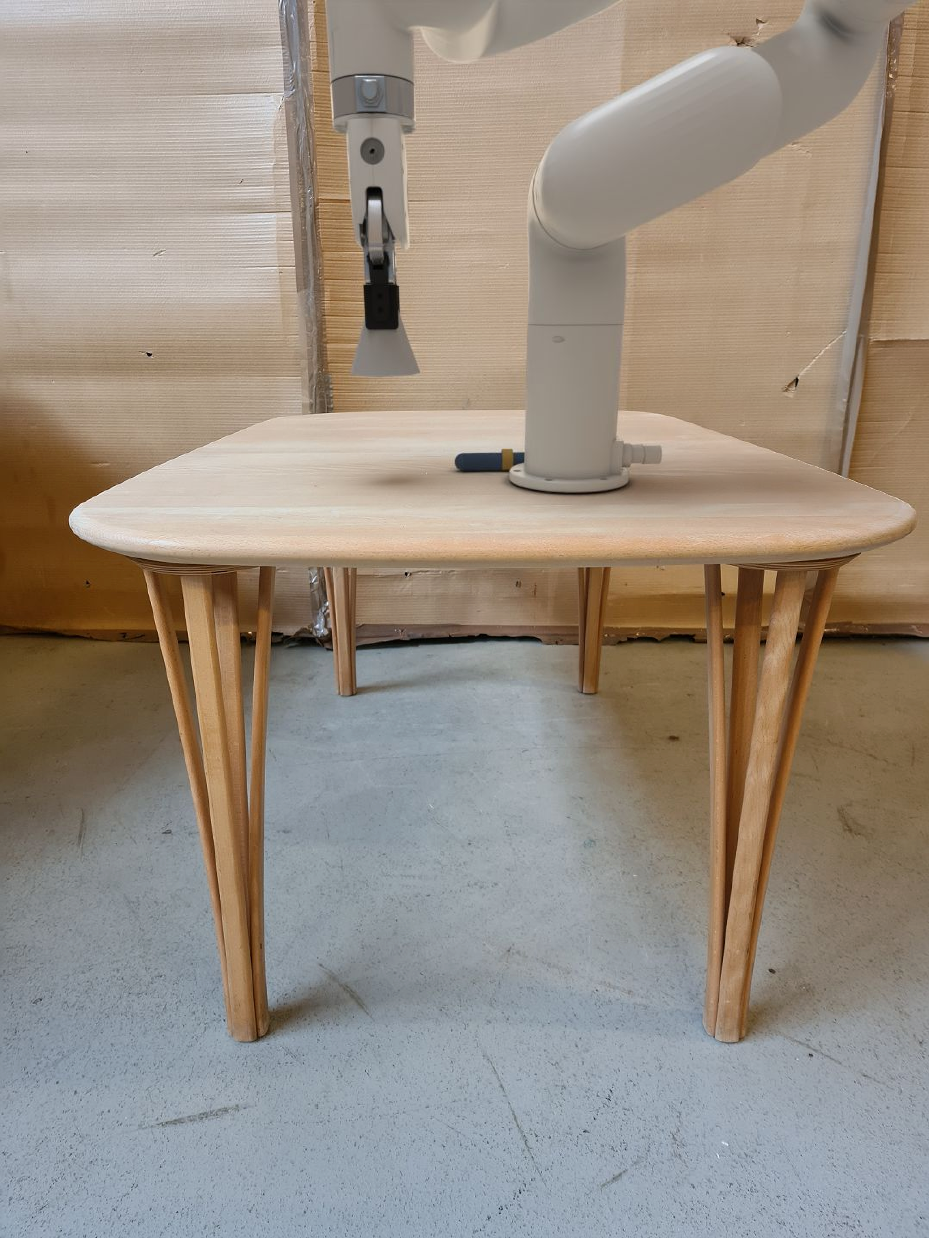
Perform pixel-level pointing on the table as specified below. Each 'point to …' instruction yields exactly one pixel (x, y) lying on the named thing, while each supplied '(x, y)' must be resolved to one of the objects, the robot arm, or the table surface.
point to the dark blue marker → (489, 460)
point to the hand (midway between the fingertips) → (383, 327)
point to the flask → (384, 353)
